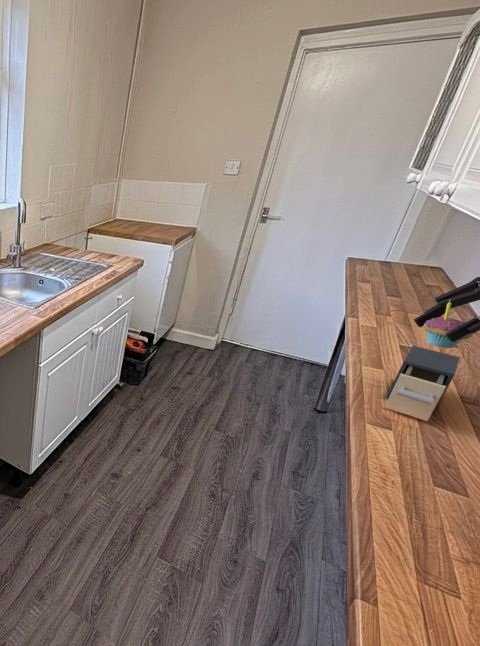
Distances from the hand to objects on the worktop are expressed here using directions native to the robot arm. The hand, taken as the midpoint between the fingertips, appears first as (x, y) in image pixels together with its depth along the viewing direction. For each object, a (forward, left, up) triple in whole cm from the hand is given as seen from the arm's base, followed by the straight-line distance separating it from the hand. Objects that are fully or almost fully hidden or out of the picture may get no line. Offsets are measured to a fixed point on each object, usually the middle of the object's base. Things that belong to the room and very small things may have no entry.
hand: (432, 330), depth 106 cm
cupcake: (-2, -2, -4) cm, 5 cm away
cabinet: (-2, -2, -20) cm, 20 cm away
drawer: (-2, +9, -19) cm, 21 cm away
